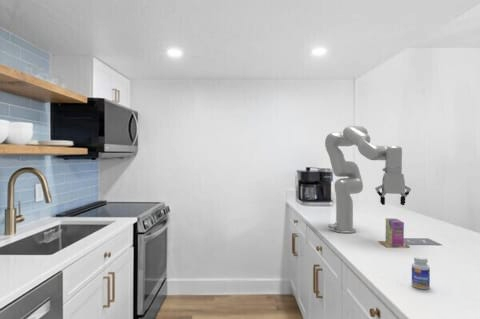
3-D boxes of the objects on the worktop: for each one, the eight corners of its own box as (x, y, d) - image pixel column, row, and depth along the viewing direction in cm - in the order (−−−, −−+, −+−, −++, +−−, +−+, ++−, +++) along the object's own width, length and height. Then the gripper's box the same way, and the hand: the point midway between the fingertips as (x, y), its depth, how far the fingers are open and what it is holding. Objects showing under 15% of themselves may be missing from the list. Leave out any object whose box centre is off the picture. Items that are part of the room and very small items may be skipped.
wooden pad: (386, 247, 166) (386, 246, 166) (378, 242, 177) (378, 240, 177) (409, 247, 166) (409, 246, 166) (400, 242, 177) (400, 241, 177)
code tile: (405, 244, 171) (405, 244, 171) (394, 238, 185) (394, 238, 185) (442, 245, 171) (442, 244, 171) (428, 238, 185) (428, 238, 185)
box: (404, 246, 166) (404, 222, 166) (391, 245, 167) (391, 221, 167) (396, 241, 176) (396, 218, 176) (385, 240, 177) (385, 218, 177)
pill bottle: (412, 288, 114) (412, 259, 114) (410, 282, 119) (410, 254, 119) (431, 290, 112) (431, 260, 112) (428, 284, 117) (428, 256, 117)
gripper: (378, 171, 168) (377, 205, 169) (414, 171, 168) (413, 206, 168) (373, 170, 176) (372, 203, 176) (407, 170, 175) (406, 203, 175)
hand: (392, 204), depth 172 cm, fingers open, 9 cm apart
